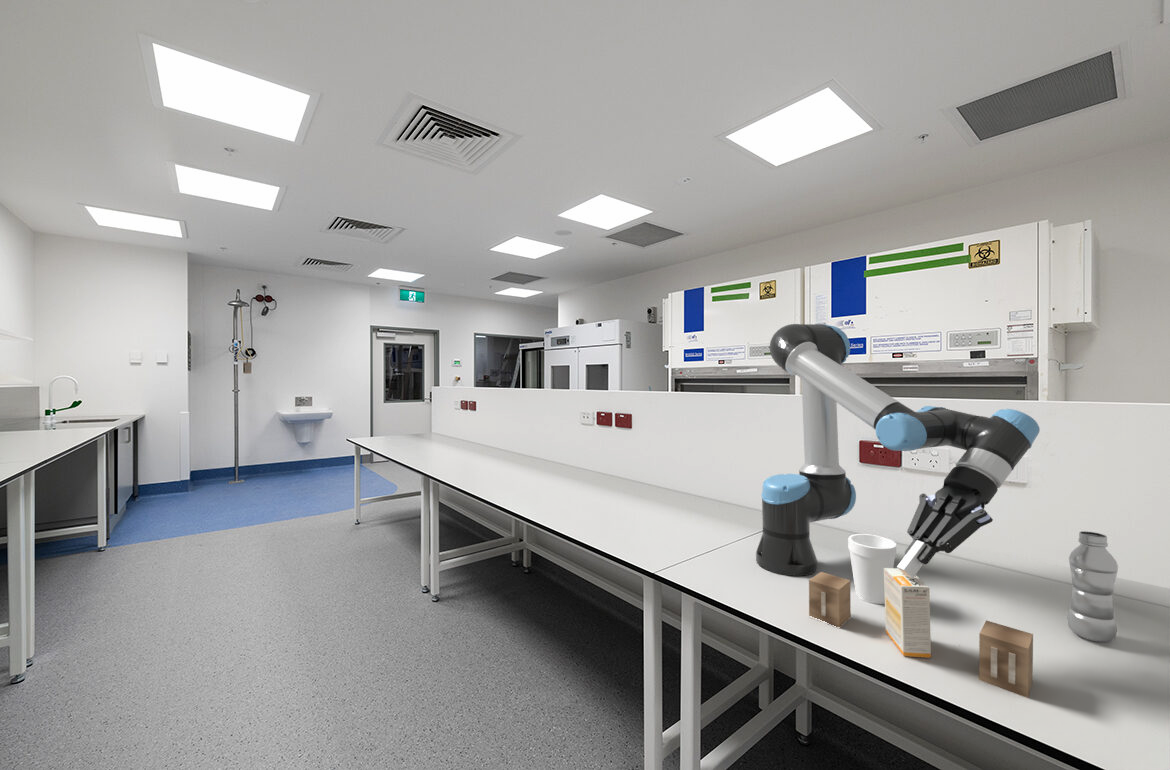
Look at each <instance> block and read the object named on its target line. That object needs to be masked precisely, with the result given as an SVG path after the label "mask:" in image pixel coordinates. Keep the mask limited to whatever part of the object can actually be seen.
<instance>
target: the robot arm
mask: <svg viewBox="0 0 1170 770" xmlns="http://www.w3.org/2000/svg"><path fill="white" fill-rule="evenodd" d="M850 352H851V343H850V340H849V337H848V335H847V334H846V333H845V331H843V330H842V329H841V328H840V327H838V326H835V325H828V324H825V323H823V324H819V323H818V324H812V323H811V324H810V323H809V324H807V323H806V324H804V323H803V324H800V323H791V324H787V325H784V326H782V327H780V328H779V329H778V330H777V331H776V332H775V333H774V334H773V335H772V337H771V339H770V342H769V354H770V356H771V358H772V360H773V361H774V363H775V364H776V365H777V366H778V367H780V368H781V369H782V370H783V371H784V372H786V373H787V374H788V375H791V376H797V377H799V378H800V380H801V396H802V397H801V398H802V399H801V400H802V425H803V450H804V452H803V453H804V464H803V465H801V467H800V468H799V469H798V471H799V472H798V473H799V474H797V473H785V474H784V473H780V474H775V475H771V476H769V477H767V478H766V479H765V480H764V481H763V483H762V490H761V491H762V492H761V507H762V514H761V516H762V534H761V536H760V537H761V538H760V540H759V543H758V546H757V549H756V552H755V558H756V559H755V560H756V561H757V562H756V561H755V562H756V564H757V565H758V564H759V567H761V566H762V567H761V568H763V567H764V568H765V570H767V571H769V570H770V572H772V573H775V572H776V573H775V574H780V575H785V576H805V575H806V576H807V575H811V574H813V573H815V572H816V571H817V569H818V559H817V555H816V552H815V550H814V547H813V544H812V541H811V538H810V537H811V536H810V530H811V529H810V527H811V526H810V523H814V522H820V521H825V520H834V519H838V518H840V517H843V516H845V515H848V514H849V513H850V512H851V511H852V510H853V508H854V506H855V504H856V501H857V492H856V489H855V486H854V484H852V483H851V482H852V481H851V480H850V479H849V478H848V477H847V476H846V475H847V473H846V470H845V469H844V468H843V467H842V466H841V465H840V463H839V462H840V461H839V460H840V458H839V457H840V456H839V431H838V405H840V406H841V407H842V408H844V409H845V410H847V411H848V412H850V413H852V415H854V416H855V417H857V418H858V419H860V420H861V421H862V422H864V423H865V424H867V425H868V426H870V427H871V428H872V429H874V431H875V435H876V438H877V439H878V441H879V443H880V444H881V445H882V446H883V447H885V448H886V449H888V450H891V451H894V452H895V451H897V452H898V451H899V452H900V451H902V452H911V451H915V450H921V449H930V448H931V449H932V448H937V447H945V446H947V447H953V448H957V449H960V450H963V451H965V452H964V453H963V454H962V456H961V457H960V458H959V459H958V461H957V462H956V463H955V467H953V468H952V469H950V472H949V473H948V474H947V475H946V476H945V478H944V480H943V485H942V487H941V488H940V489H938V490H937V491H936V492H935V493H934V494H931V495H927V494H926V493H921V494H919V498H918V500H919V501H918V502H919V504H917V508H916V510H915V512H914V514H913V517H912V519H911V522H910V523H909V526H908V528H907V530H906V533H907V534H908V535H909V536H910V537H911V538H912V542H911V543H910V544H909V545H908V547H907V548H906V549H905V551H904V554H905V555H904V556H903V558H902V559H901V561H900V562H899V563H898V564H897V566H896V568H898V569H899V570H900V571H901V572H902V573H903V574H904V575H905V576H907V577H909V578H911V579H913V577H914V576H915V575H916V576H917V573H918V572H919V571H920V569H921V568H922V567H923V566H924V565H927V564H929V563H930V561H932V559H933V557H934V556H935V555H936V553H939V552H944V553H945V554H950V553H952V552H953V551H954V550H955V549H957V548H958V547H959V546H960V545H961V544H962V543H964V542H965V541H966V540H967V539H969V538H970V537H971V536H972V535H973V534H975V533H976V532H977V531H978V530H979V529H980V528H981V527H984V526H986V525H988V524H991V523H992V522H993V520H994V519H993V518H992V517H991V515H990V514H989V513H988V512H987V510H985V509H986V508H985V507H986V506H985V505H988V504H989V503H990V502H991V500H993V498H994V497H995V495H996V494H997V493H998V489H1000V488H1001V487H1002V485H1003V484H1004V483H1005V481H1006V480H1007V479H1008V477H1009V475H1010V474H1011V473H1012V471H1014V468H1015V467H1016V466H1017V465H1018V464H1019V462H1020V461H1021V459H1022V458H1023V457H1024V456H1025V454H1026V453H1027V452H1028V450H1029V449H1031V448H1032V446H1033V444H1034V442H1035V440H1036V438H1037V436H1039V434H1040V429H1041V428H1040V425H1039V424H1038V422H1037V421H1036V420H1035V419H1034V418H1033V417H1032V416H1030V415H1028V414H1027V413H1025V412H1022V411H1020V410H1017V409H1013V408H1012V409H1011V408H1006V409H1005V408H1003V409H999V410H997V411H996V412H995V413H993V414H991V416H990V417H988V416H983V415H976V414H971V413H967V412H962V411H957V410H955V409H954V410H952V409H950V408H949V409H948V408H946V407H942V406H941V407H940V406H931V405H924V406H922V407H921V408H920V409H918V410H917V411H914V410H913V409H912V408H910V407H908V406H906V405H904V404H903V403H901V402H900V401H898V400H897V399H895V398H894V397H892V396H890V395H889V394H888V393H886V392H885V391H883V390H881V389H879V388H878V387H876V386H875V385H873V384H871V383H869V382H868V381H867V380H866V379H864V378H862V377H860V376H859V375H857V374H856V373H854V372H852V371H850V370H849V369H847V368H846V367H844V366H843V365H842V364H844V363H845V362H846V361H847V359H848V358H849V356H850ZM837 404H838V405H837ZM764 568H763V569H764Z"/></svg>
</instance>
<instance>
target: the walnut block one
mask: <svg viewBox="0 0 1170 770" xmlns="http://www.w3.org/2000/svg"><path fill="white" fill-rule="evenodd" d="M851 608H852V607H851V580H849V579H848V578H847V579H846V578H845V577H839V576H836V575H834V574H831V573H827V572H824V571H820V572H819V573H816V575H814V576H813V577H811V578H810V579H809V580H808V615H809V616H812V617H814V618H817V619H820V620H822V621H825V622H827V623H829V624H831V625H834V626H836V627H835V628H837V627H840V628H842V627H843V626H844V625H845V624H846V623H847V622H848V621H849V620H850V619H851V618H852V617H851ZM809 616H808V617H809ZM850 617H851V618H850ZM849 618H850V619H849ZM848 619H849V620H848ZM847 620H848V621H847ZM846 621H847V622H846ZM845 622H846V623H845ZM844 623H845V624H844ZM829 624H828V625H829ZM831 625H830V626H831ZM834 626H833V627H834Z"/></svg>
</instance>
